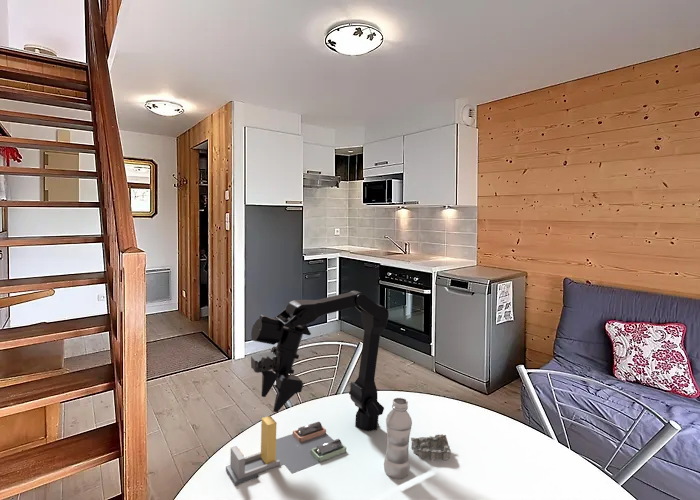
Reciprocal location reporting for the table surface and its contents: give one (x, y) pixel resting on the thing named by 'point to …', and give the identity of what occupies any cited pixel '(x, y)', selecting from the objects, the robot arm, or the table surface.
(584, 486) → the table surface
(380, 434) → the table surface
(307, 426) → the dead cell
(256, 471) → the checker
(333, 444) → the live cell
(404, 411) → the plastic bottle
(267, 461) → the tall mustard pillar
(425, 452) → the egg carton
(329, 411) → the table surface
